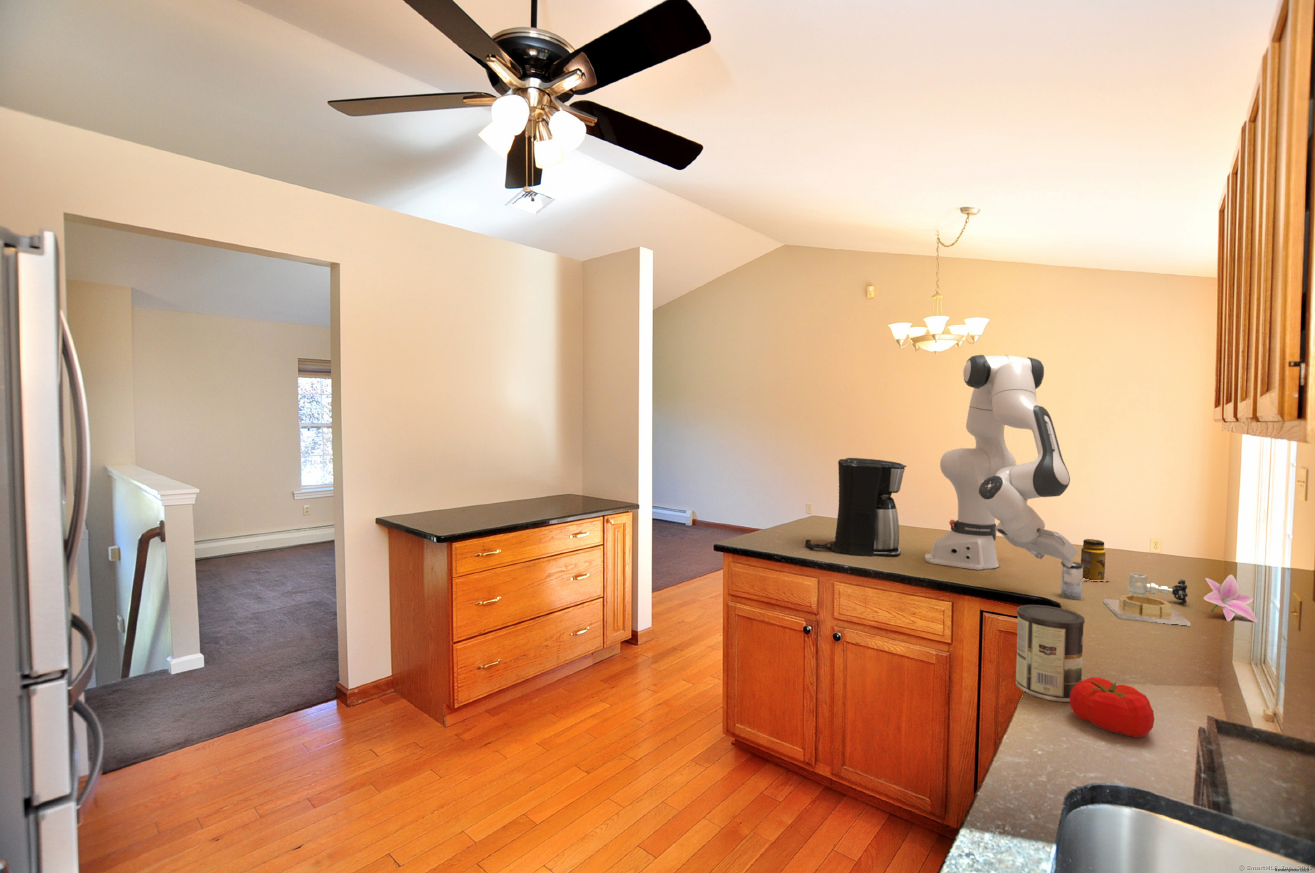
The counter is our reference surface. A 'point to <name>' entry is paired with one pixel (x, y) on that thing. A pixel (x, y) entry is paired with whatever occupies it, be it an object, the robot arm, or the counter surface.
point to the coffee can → (1049, 651)
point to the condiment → (1093, 559)
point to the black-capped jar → (1072, 581)
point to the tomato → (1112, 707)
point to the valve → (1155, 587)
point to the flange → (1145, 609)
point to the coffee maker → (867, 508)
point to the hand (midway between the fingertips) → (1054, 560)
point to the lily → (1230, 599)
